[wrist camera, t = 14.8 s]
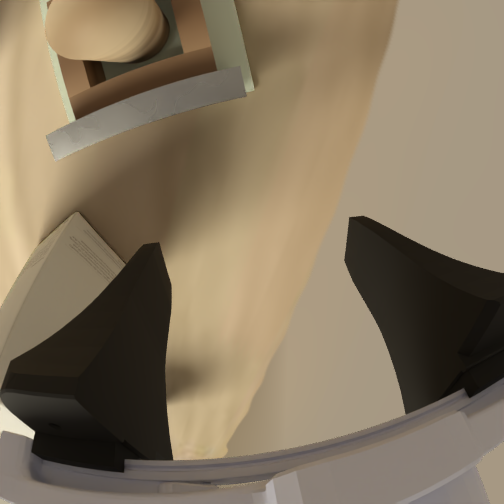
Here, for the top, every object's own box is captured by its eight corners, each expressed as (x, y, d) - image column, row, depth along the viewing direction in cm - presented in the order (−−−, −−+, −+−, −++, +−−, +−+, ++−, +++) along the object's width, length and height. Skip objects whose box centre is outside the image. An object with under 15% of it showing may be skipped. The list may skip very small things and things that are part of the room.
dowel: (94, 41, 13) (28, 29, 6) (139, -6, 12) (99, -49, 5) (136, 75, 15) (88, 79, 8) (183, 29, 14) (166, -2, 7)
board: (39, -29, 8) (35, -30, 8) (207, -91, 8) (207, -95, 8) (81, 144, 17) (77, 146, 16) (253, 90, 17) (254, 90, 16)
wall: (81, 118, 15) (45, 135, 11) (231, 68, 15) (239, 65, 11) (88, 138, 16) (55, 161, 12) (236, 90, 16) (246, 96, 12)
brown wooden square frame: (67, 9, 11) (46, 2, 8) (189, -37, 11) (186, -55, 8) (94, 112, 15) (75, 120, 13) (216, 71, 15) (217, 71, 13)
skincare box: (35, 246, 21) (-47, 402, 8) (81, 204, 19) (-21, 387, 7) (97, 308, 25) (62, 467, 12) (147, 280, 24) (124, 466, 11)
